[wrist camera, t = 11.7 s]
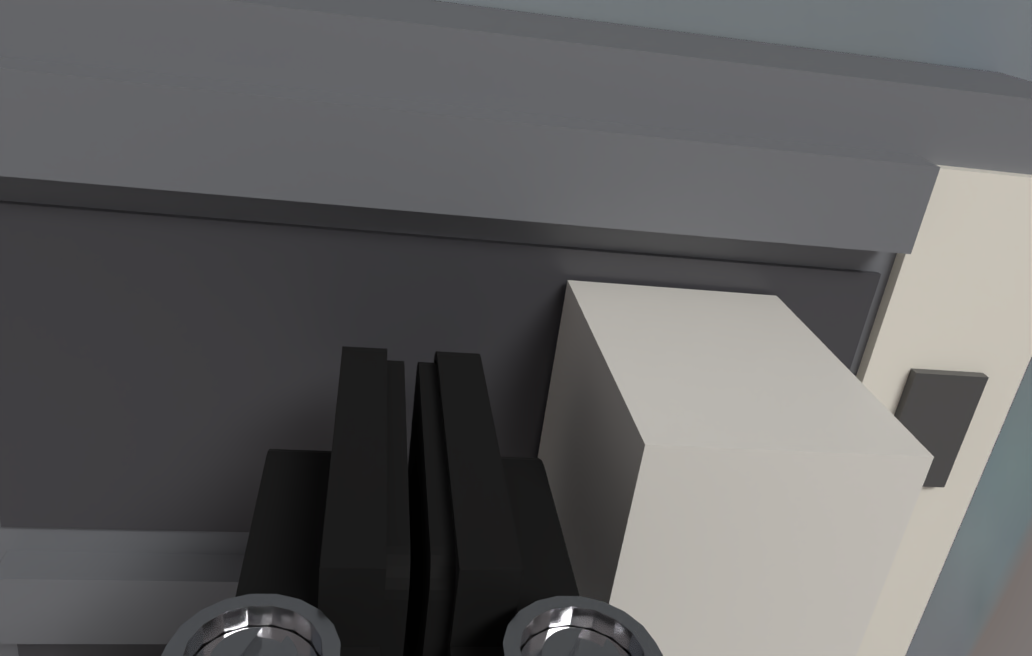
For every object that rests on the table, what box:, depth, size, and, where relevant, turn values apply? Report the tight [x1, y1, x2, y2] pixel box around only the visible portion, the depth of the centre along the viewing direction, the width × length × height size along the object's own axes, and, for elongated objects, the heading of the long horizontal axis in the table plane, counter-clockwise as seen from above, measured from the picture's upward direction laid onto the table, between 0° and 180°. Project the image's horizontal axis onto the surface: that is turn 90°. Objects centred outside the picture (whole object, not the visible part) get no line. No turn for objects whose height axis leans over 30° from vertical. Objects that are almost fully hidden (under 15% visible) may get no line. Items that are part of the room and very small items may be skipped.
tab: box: [538, 280, 934, 656], centre depth 11 cm, size 4×3×4 cm
